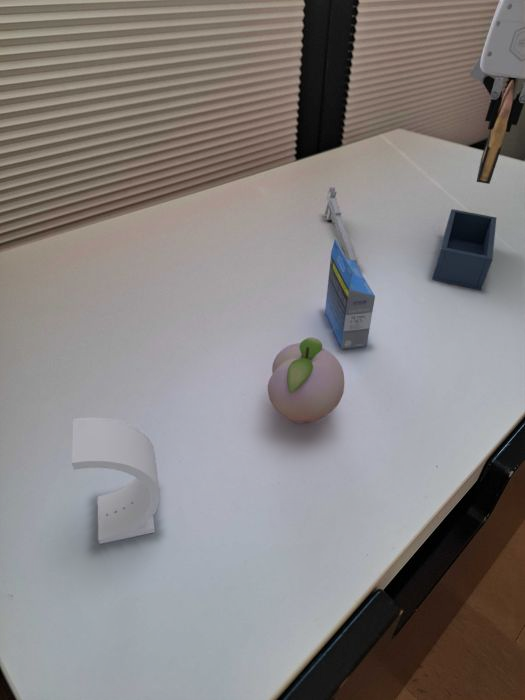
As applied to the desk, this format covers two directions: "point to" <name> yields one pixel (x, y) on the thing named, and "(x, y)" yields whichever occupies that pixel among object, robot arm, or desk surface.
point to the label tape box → (348, 301)
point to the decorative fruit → (305, 382)
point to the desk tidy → (466, 249)
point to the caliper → (338, 223)
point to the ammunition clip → (495, 138)
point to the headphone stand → (124, 455)
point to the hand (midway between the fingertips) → (499, 127)
